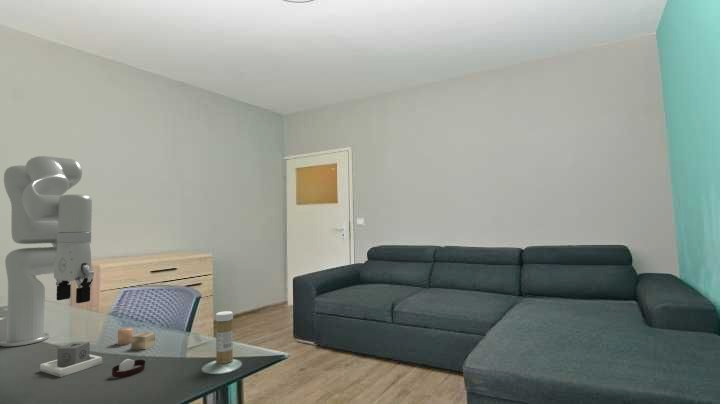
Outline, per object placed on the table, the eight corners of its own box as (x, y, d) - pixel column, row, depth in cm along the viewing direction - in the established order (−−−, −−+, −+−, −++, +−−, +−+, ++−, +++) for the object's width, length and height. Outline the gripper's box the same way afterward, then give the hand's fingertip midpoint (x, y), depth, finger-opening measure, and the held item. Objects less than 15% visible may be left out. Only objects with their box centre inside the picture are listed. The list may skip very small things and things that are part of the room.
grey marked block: (89, 360, 105) (89, 342, 106) (75, 367, 100) (75, 348, 101) (71, 360, 105) (72, 342, 106) (57, 367, 100) (57, 348, 101)
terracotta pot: (114, 344, 122) (114, 330, 123) (127, 340, 126) (128, 326, 127) (122, 345, 120) (122, 331, 121) (136, 341, 124) (136, 328, 125)
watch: (141, 367, 102) (141, 353, 102) (148, 371, 99) (148, 357, 99) (108, 376, 96) (109, 362, 96) (115, 380, 93) (115, 366, 93)
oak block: (131, 349, 117) (131, 336, 117) (141, 345, 121) (141, 332, 121) (145, 350, 116) (145, 336, 116) (154, 345, 120) (154, 333, 120)
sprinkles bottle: (231, 357, 107) (231, 309, 108) (234, 362, 103) (233, 313, 104) (214, 360, 105) (214, 311, 106) (216, 365, 101) (216, 315, 102)
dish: (40, 371, 100) (40, 364, 100) (81, 358, 109) (81, 352, 109) (60, 377, 96) (60, 370, 96) (101, 363, 105) (102, 357, 105)
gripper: (42, 239, 105) (40, 301, 104) (76, 239, 97) (75, 306, 96) (72, 238, 112) (71, 296, 111) (107, 238, 104) (105, 300, 103)
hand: (73, 300), depth 104 cm, fingers open, 9 cm apart
